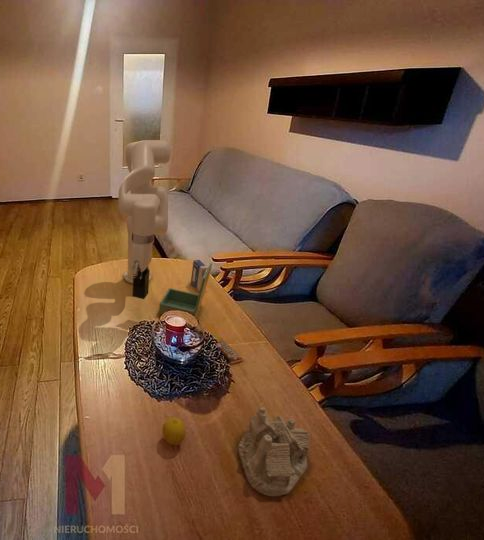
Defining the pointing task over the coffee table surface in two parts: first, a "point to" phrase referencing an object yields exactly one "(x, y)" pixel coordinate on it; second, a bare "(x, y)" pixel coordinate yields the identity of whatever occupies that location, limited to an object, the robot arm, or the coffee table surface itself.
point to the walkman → (198, 273)
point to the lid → (203, 287)
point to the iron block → (143, 291)
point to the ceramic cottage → (273, 454)
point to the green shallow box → (179, 302)
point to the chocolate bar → (228, 353)
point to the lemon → (174, 431)
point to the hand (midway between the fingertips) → (140, 283)
